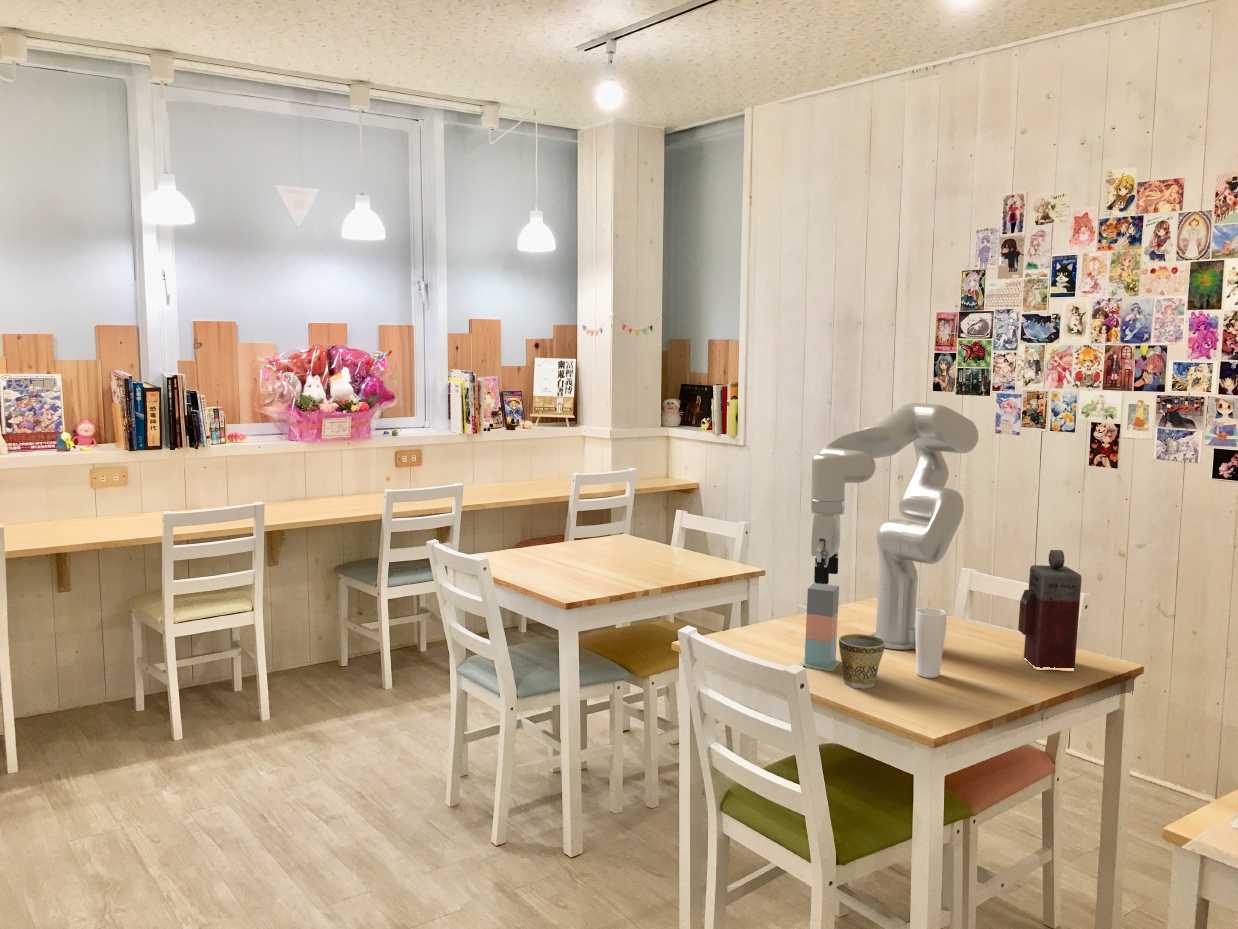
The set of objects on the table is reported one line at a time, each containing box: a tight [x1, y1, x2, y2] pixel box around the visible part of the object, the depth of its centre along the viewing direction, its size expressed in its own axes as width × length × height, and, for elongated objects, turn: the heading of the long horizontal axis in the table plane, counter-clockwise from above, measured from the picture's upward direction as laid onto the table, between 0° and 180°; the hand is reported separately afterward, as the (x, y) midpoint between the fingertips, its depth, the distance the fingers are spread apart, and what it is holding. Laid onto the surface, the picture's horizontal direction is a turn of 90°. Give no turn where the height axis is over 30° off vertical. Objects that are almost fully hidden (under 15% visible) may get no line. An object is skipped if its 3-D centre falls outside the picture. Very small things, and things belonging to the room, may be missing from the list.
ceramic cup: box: [838, 633, 885, 690], centre depth 222 cm, size 13×10×10 cm
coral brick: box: [805, 610, 839, 642], centre depth 233 cm, size 6×6×6 cm
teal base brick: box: [804, 635, 838, 667], centre depth 234 cm, size 6×6×6 cm
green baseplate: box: [799, 657, 842, 672], centre depth 234 cm, size 8×8×1 cm
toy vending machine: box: [1017, 549, 1083, 669], centre depth 236 cm, size 9×11×28 cm
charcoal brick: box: [806, 582, 840, 617], centre depth 233 cm, size 6×6×6 cm
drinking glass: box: [915, 607, 948, 679], centre depth 227 cm, size 7×7×15 cm
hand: (826, 578), depth 233 cm, fingers open, 9 cm apart
